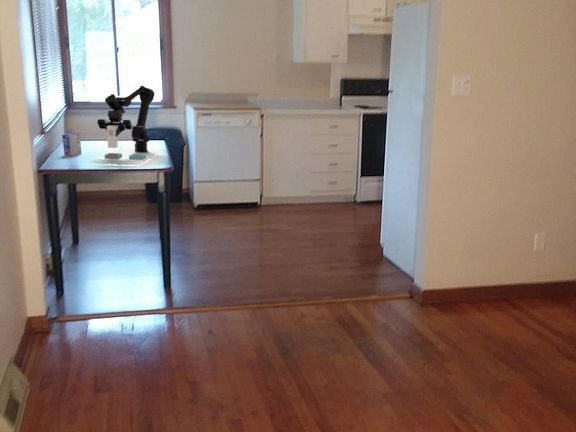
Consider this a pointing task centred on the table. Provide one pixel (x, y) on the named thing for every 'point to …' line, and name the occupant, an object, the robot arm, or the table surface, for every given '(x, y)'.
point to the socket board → (119, 156)
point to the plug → (112, 136)
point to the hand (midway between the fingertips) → (112, 135)
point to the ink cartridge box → (71, 143)
